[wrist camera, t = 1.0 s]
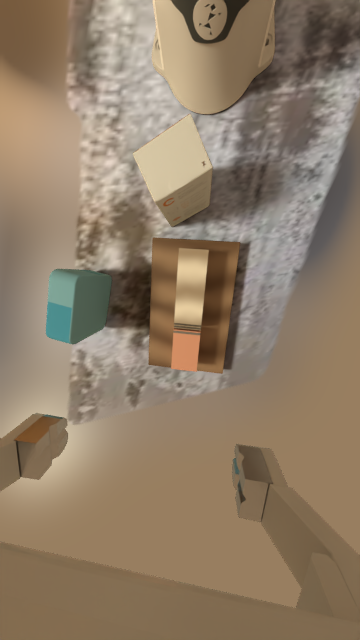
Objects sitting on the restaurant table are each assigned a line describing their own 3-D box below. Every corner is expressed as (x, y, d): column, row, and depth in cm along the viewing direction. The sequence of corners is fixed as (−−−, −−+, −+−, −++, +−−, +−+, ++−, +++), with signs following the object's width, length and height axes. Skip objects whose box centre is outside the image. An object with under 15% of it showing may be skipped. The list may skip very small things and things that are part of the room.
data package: (93, 270, 40) (48, 268, 29) (113, 275, 40) (76, 275, 28) (86, 322, 43) (44, 340, 32) (105, 328, 43) (69, 347, 31)
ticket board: (155, 239, 37) (147, 233, 32) (238, 244, 36) (244, 238, 30) (150, 360, 44) (143, 372, 38) (221, 369, 42) (224, 382, 37)
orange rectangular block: (176, 324, 39) (173, 329, 35) (200, 327, 38) (200, 332, 35) (173, 360, 41) (171, 368, 37) (197, 363, 40) (196, 371, 37)
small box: (195, 171, 34) (191, 110, 21) (210, 206, 35) (214, 167, 22) (156, 195, 36) (131, 152, 23) (171, 228, 37) (155, 203, 24)
